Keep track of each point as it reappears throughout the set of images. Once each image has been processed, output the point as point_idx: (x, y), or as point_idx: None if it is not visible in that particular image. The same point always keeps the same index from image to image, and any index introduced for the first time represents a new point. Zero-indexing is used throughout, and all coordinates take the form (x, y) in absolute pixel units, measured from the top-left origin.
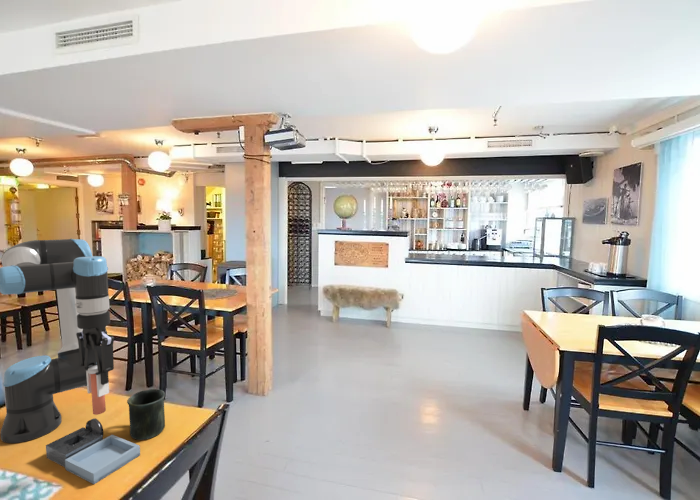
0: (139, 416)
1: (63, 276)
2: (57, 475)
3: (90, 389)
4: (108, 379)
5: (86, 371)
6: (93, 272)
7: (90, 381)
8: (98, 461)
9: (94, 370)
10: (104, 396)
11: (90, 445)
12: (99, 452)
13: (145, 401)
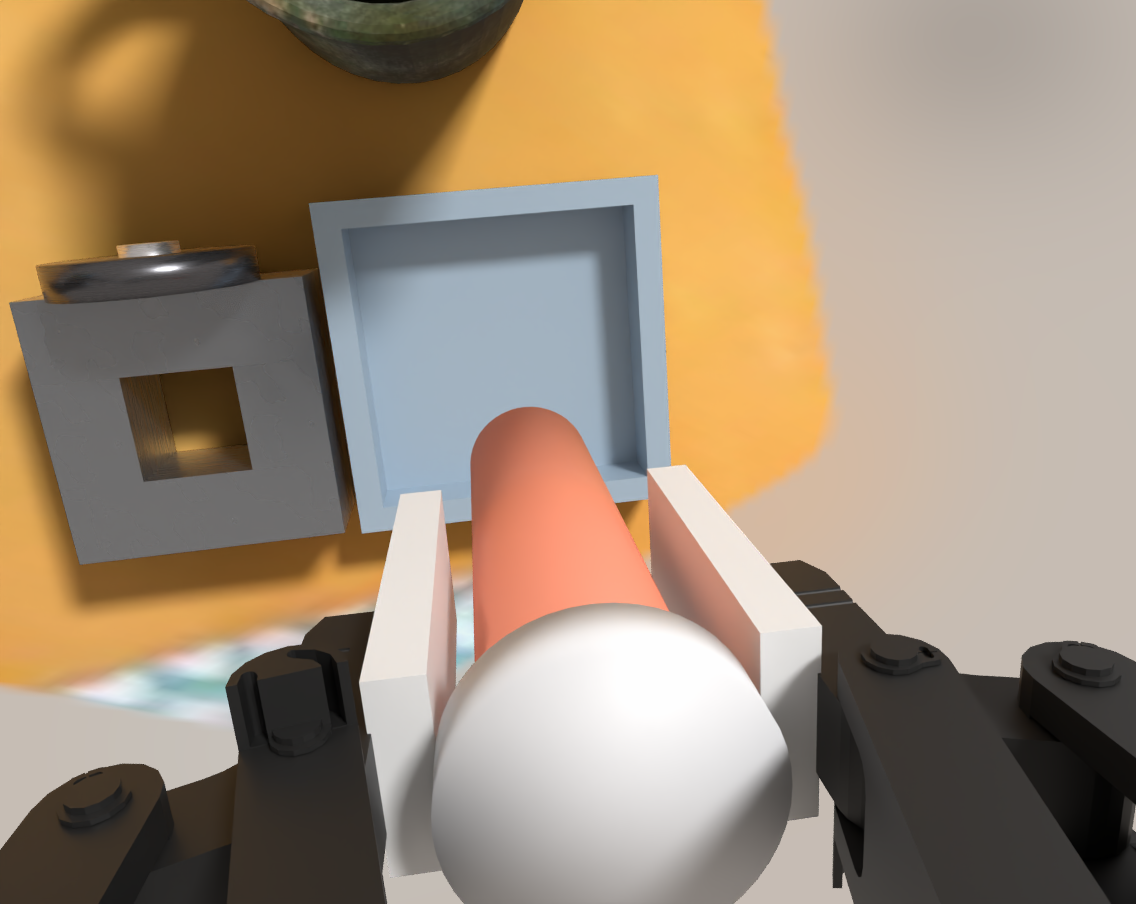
0: (482, 23)
1: None
2: (384, 551)
3: (452, 626)
4: (842, 590)
5: (405, 869)
6: None
7: (451, 689)
8: (488, 378)
9: (742, 891)
10: (598, 476)
11: (321, 365)
12: (388, 327)
13: None
